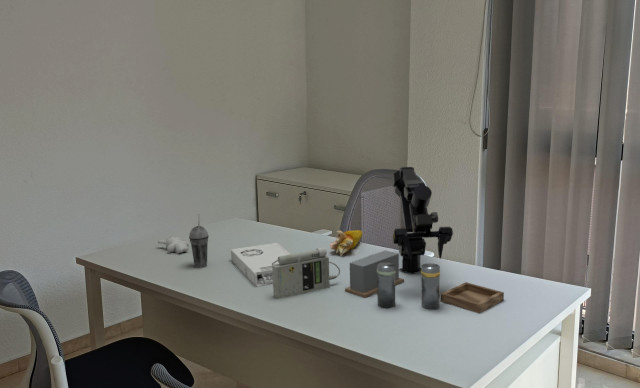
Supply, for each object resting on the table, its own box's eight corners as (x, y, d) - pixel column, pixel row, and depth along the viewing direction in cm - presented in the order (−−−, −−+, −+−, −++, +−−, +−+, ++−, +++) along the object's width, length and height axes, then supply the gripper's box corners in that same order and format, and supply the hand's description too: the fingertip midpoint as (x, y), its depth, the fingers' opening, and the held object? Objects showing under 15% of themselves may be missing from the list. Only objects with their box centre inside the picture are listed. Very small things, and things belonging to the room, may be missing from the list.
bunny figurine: (173, 247, 259) (154, 235, 270) (173, 258, 261) (155, 247, 271) (194, 241, 266) (175, 231, 276) (194, 253, 267) (175, 242, 278)
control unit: (384, 276, 230) (383, 248, 228) (404, 281, 224) (404, 253, 222) (344, 291, 217) (344, 262, 214) (364, 297, 210) (364, 268, 208)
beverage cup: (187, 268, 245) (183, 216, 241) (197, 262, 252) (194, 212, 248) (204, 269, 243) (200, 218, 238) (214, 264, 249) (210, 213, 245)
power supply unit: (256, 288, 224) (255, 274, 222) (231, 261, 253) (230, 249, 252) (307, 279, 231) (307, 266, 229) (277, 254, 260) (276, 242, 259)
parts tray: (465, 289, 215) (465, 282, 214) (503, 300, 205) (503, 292, 204) (440, 301, 205) (440, 293, 205) (478, 313, 195) (479, 305, 195)
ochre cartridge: (428, 301, 206) (428, 262, 203) (443, 306, 202) (444, 266, 199) (417, 306, 202) (417, 266, 199) (432, 311, 198) (432, 270, 195)
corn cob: (362, 249, 274) (339, 259, 252) (346, 239, 277) (323, 248, 254) (371, 233, 272) (349, 241, 249) (355, 222, 275) (333, 230, 252)
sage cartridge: (385, 299, 208) (385, 261, 205) (399, 304, 204) (399, 265, 201) (373, 305, 204) (372, 265, 201) (387, 309, 200) (387, 269, 197)
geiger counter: (275, 259, 208) (344, 246, 219) (268, 253, 214) (334, 241, 225) (277, 300, 211) (344, 285, 222) (270, 293, 217) (335, 279, 228)
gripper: (393, 204, 208) (399, 247, 199) (452, 202, 208) (459, 245, 200) (390, 222, 217) (395, 264, 209) (446, 219, 217) (453, 261, 209)
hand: (426, 258), depth 206 cm, fingers open, 9 cm apart
